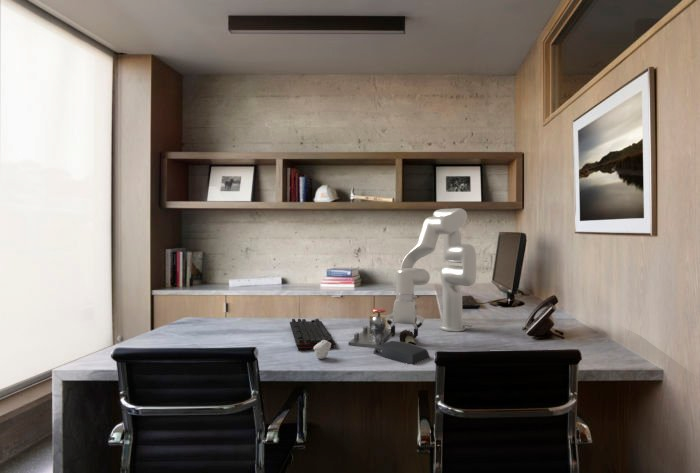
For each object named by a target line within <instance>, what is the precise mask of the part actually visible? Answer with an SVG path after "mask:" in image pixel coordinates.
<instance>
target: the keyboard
mask: <svg viewBox="0 0 700 473" xmlns="http://www.w3.org/2000/svg"><path fill="white" fill-rule="evenodd" d="M289 326H290V329H291V333H292V335H293V339H294V343H295V346H296V347H297V348H296V349H297V351H298V352H301V351H314V349H313V348H314V346H315V345H316V344H318V343H319V342H321V341H322V340H326V341H328V342H330V343H331V348H330V350H331V349H334V347H336V345H337V342H336V341H335V339H334V338H333V336H332V335H331V334H330V332H329V330H328V329H327V328H326V325H324V323H323V321H321V320H320V319H319V318H315V319H311V320H310V321H308V320H307V319H306V318H302V319H301V318H297V321H296V318H292V319H291V321H289Z"/></svg>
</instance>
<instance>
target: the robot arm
mask: <svg viewBox="0 0 700 473" xmlns="http://www.w3.org/2000/svg"><path fill="white" fill-rule="evenodd" d="M467 221H468V213H467V211H466V210H465V209H463V208H461V207H460V208H457V207H456V208H440V209H437V210H435V211H434V212H433V213H432V216H429V217H426V218H425V219H424V221H423V223H422V226H421V230H420V233H419V235H418V239H417V241H416V244H415V246H414V247H413V248H412V249H411V250H410V251H409V252H408V253H407V254H406V255H405V256H404V258H403V260H402V262H401V265H400V268H399V269H397V271H396V286H395V287H396V294H395V295H396V296H395V297H396V298H395V300H394V303H393V309H392V312H391V313H388V314H385V315H386V316H385V318H386V320H387V323H388V326H389V327H390V329H391V337H395V335H396V324H400V325H401V324H403V325H412V327H414V329H413V335H414V339H416V338H417V337H418V336H419V328H421V326H423V324H424V321H426V320H425V318H424V317H422V316H421V315H419V314H418V313H417V309H418V308H417V302H416V299H417V298H418V296H417V295H415V293H414V292H415V291H414V290H415V289H414V288H415V286H426V284H428V283H429V282H430V278H431V276H430V275H431V274H430V273H429V272H428V270H426V269H425V268H418V267H414V265H415V264H416V263H417V262H418V261H419V260H420V259H423V258H424V257H426V256H428V255H430V254H432V253H433V252H434V251H435V249H436V246H437V242H438V239H439V236H440V235H442V238H443V239H442V240H443V244H442V245H443V248H442V250H443V252H442V253H443V259H444V261H445V262H446V263H447V262H448V263H450V264H449V265H445V266H443V267H442V268H441V270H440V273H439V276H440V280H441V281H440V282H441V289H442V323H441V324H440V325H439V329H440V330H442V331H445V332H446V331H447V332H454V333H455V332H456V333H457V332H464V331H465V330H466V329H467V328H466V327H470V328H472V326H473V323H472V322H469V321H464V319H463V291H462V289H461V287H462V286H463V287H472V286H473V285H474V284H475V283H476V280H477V252H476V249H475V247H474V246H473V245H472V244H469V243H462V237H461V236H462V235H461V230H460V228H462V227H463V226H464V225H465V224H466V222H467ZM451 263H453V264H462V265H453V264H451ZM460 286H461V287H460ZM391 317H392V321H391ZM418 320H419V321H420V322H419V323H417V321H418Z"/></svg>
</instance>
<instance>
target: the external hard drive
mask: <svg viewBox="0 0 700 473" xmlns="http://www.w3.org/2000/svg"><path fill="white" fill-rule="evenodd" d="M372 353H373V355H375V356H379V357H380V358H384V359H386V360H387V359H388V360H392V361H395V362H397V363H402V364H406V363H407V364H406V365H410V364H413V365H415V363H416V364H418V363H420V361H421V362H423V361H425V359H426V360H428V359H430V358H431V356H430V353H429V352H428V349H426V348H424V347H422V346H419V345H417V346H416V345H413V344H409V343H404V342H400V340H399V341H398V340H390V341H387V342H383V343H382V344H380V345H377V346H376V347H375V348H374V350H373V352H372ZM427 358H428V359H427ZM422 360H423V361H422ZM417 362H418V363H417Z"/></svg>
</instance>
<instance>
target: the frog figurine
mask: <svg viewBox="0 0 700 473" xmlns="http://www.w3.org/2000/svg"><path fill="white" fill-rule="evenodd" d="M330 348H331V343H330V342H328V341H326V340H322V341H321V342H319V343H318V344H316V345H315V346H314V348H313V349H314V350H313V351H314V355H315V357H317V358H318V359H320V360H323V359H326V358H327V356H328V355H329V351H330V350H331V349H330Z"/></svg>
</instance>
